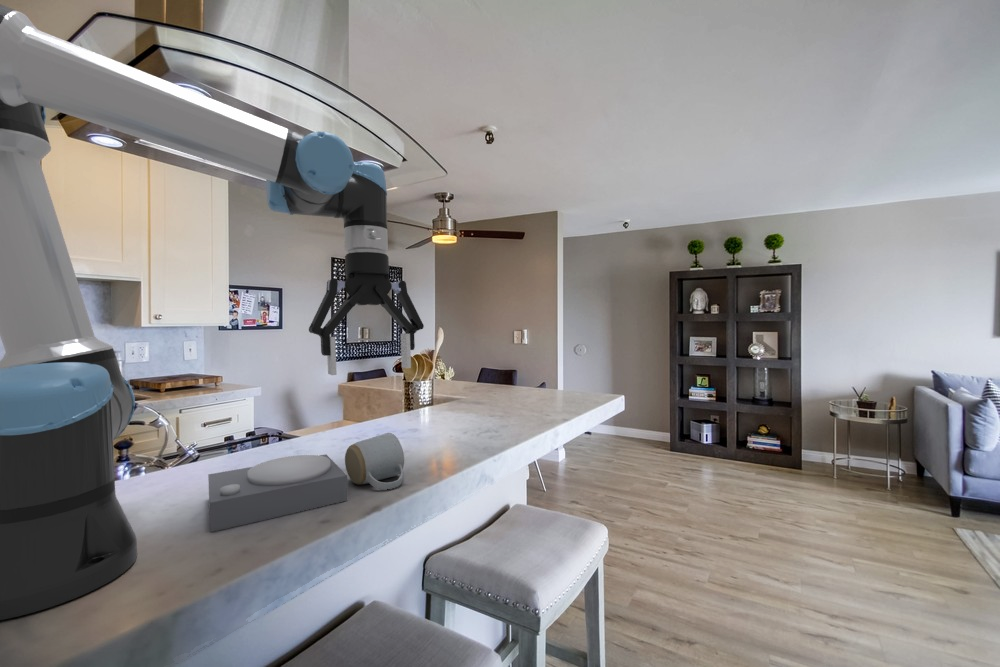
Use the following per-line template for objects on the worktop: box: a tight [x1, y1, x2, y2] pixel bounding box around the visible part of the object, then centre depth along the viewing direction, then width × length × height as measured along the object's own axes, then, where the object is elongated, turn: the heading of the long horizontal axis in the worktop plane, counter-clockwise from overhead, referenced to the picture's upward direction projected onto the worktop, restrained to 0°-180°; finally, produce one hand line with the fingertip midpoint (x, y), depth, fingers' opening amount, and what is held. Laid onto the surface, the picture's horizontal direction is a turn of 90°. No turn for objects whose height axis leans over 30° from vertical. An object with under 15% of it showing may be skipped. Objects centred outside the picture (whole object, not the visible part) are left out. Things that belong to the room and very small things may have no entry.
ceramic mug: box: [344, 432, 405, 491], centre depth 79 cm, size 11×8×8 cm
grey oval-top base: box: [207, 453, 349, 533], centre depth 71 cm, size 18×14×5 cm
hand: (371, 371), depth 82 cm, fingers open, 13 cm apart
